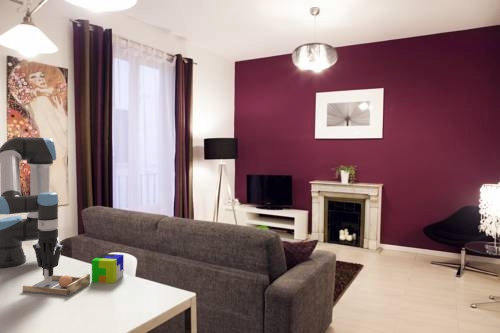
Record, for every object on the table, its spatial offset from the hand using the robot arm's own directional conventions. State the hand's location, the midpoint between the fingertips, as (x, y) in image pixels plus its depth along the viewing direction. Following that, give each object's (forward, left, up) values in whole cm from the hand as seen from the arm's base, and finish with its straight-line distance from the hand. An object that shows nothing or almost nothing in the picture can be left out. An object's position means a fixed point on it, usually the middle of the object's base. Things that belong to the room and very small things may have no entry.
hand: (48, 283), depth 151 cm
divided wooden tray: (0, +5, -2) cm, 5 cm away
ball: (+1, +9, +2) cm, 9 cm away
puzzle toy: (-14, +20, -2) cm, 24 cm away
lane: (0, +5, -2) cm, 5 cm away
